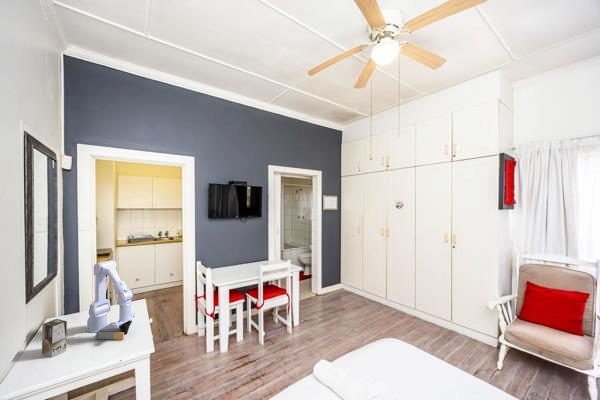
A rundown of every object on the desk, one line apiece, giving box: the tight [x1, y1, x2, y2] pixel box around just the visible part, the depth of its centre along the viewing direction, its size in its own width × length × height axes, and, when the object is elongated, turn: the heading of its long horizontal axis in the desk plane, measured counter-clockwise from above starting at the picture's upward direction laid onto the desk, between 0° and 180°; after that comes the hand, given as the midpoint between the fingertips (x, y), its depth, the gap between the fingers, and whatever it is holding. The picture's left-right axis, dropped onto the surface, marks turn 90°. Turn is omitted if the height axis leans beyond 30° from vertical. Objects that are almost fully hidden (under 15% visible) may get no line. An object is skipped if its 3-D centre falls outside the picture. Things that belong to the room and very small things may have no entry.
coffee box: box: [41, 318, 68, 358], centre depth 131 cm, size 9×6×16 cm
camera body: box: [98, 322, 122, 332], centre depth 149 cm, size 11×10×5 cm
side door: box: [95, 332, 125, 341], centre depth 143 cm, size 16×1×4 cm, turn 88°
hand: (124, 334), depth 146 cm, fingers closed
